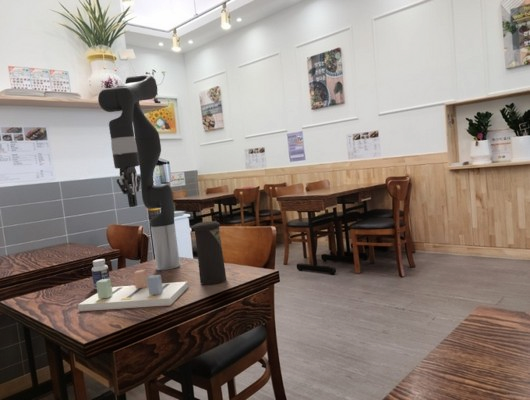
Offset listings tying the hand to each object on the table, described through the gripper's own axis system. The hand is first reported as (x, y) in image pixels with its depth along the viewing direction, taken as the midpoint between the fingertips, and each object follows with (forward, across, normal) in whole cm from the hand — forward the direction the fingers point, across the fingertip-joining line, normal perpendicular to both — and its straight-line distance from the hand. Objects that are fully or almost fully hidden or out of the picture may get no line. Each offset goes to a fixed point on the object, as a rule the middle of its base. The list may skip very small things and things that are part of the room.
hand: (133, 206), depth 130 cm
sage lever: (+25, +12, -8) cm, 29 cm away
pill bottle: (+28, -8, -19) cm, 35 cm away
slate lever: (+25, +12, +8) cm, 29 cm away
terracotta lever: (+25, +4, 0) cm, 26 cm away
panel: (+28, +9, 0) cm, 29 cm away
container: (+28, -4, +22) cm, 36 cm away
